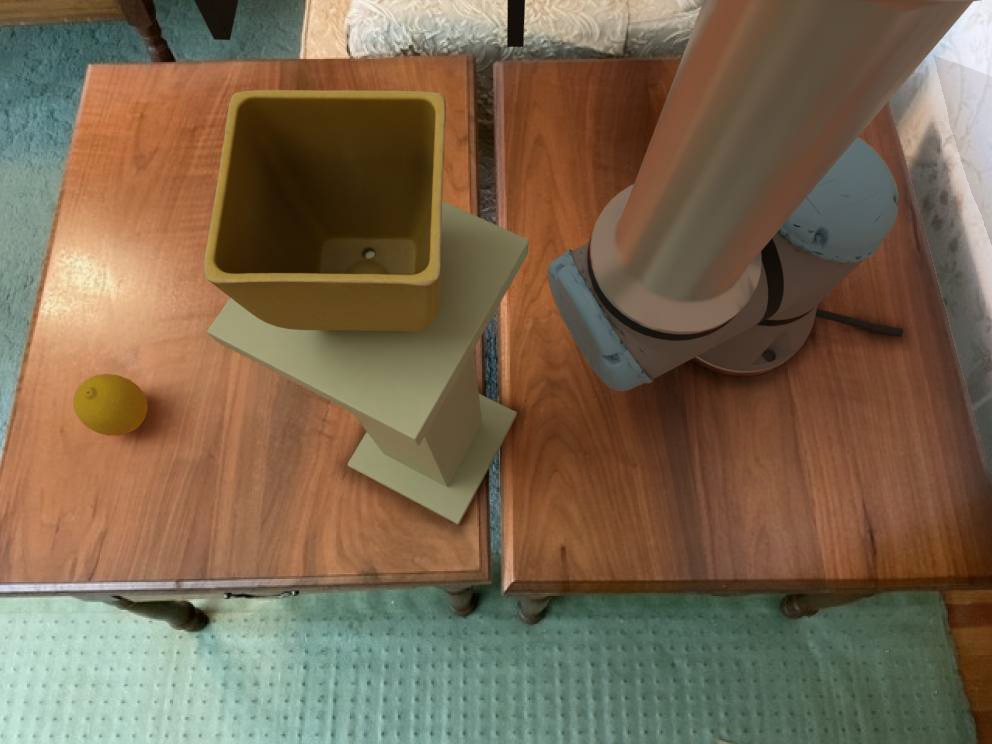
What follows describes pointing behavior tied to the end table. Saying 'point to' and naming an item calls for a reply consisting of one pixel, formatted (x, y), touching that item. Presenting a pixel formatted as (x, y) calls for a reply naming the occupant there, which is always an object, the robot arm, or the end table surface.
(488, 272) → the plant stand
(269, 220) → the flower pot
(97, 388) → the lemon
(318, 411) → the end table surface
